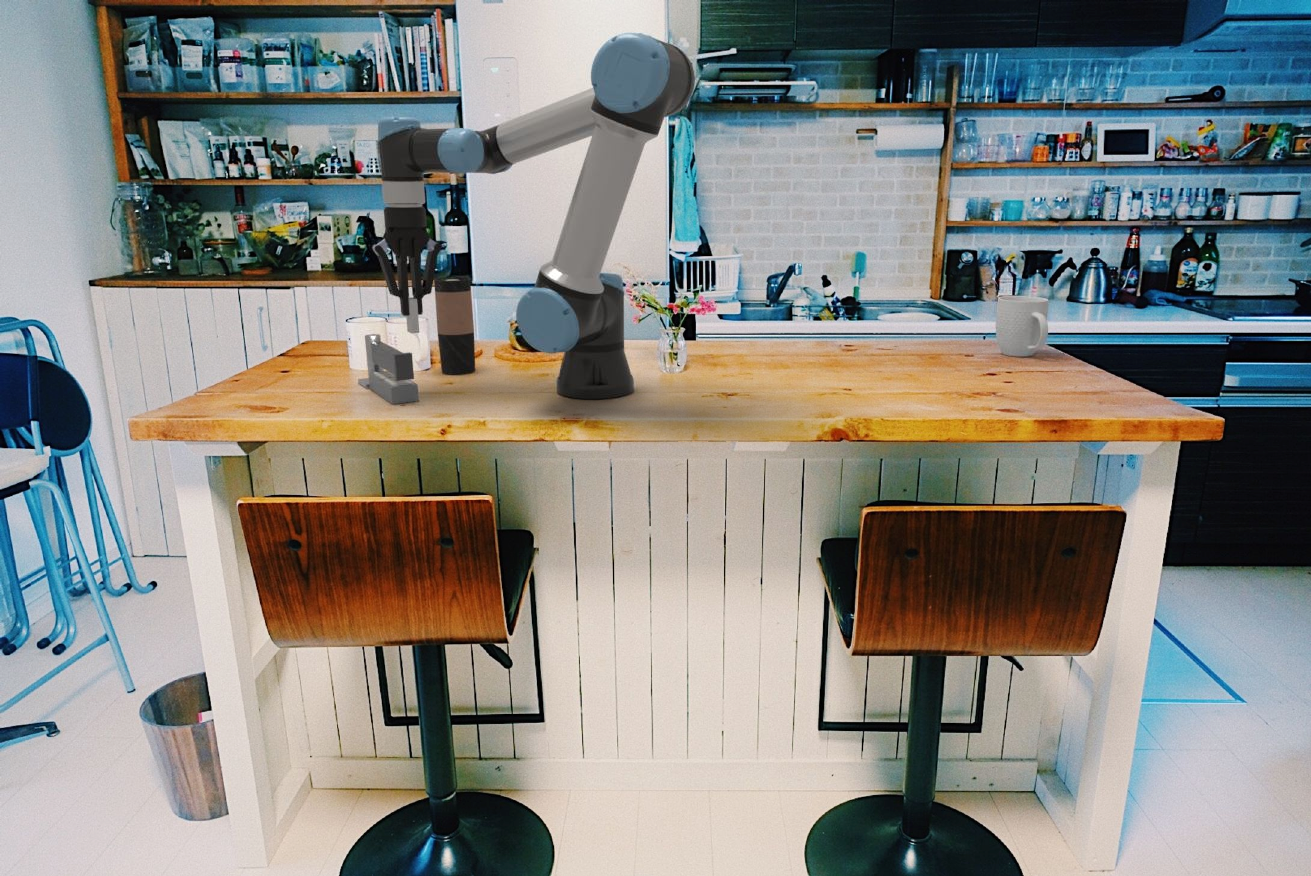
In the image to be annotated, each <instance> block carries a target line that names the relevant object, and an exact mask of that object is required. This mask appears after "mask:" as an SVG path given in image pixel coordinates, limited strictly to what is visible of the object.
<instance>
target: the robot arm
mask: <svg viewBox="0 0 1311 876" xmlns="http://www.w3.org/2000/svg"><path fill="white" fill-rule="evenodd" d="M693 67H694V66H693V64H692V61H691V60H690V58H689V57H688V56H687V54H686V53H685V52H684V51H683V50H682V49H680V48H679V47H678V46H676V45H673V44H672V43H669V42H665V41H663V40H660V39H657V38H655V37H653V36H651V35H650V34H648V35H647V34H644V33H642V32H640V33H636V32H624V33H621V34H617V35H615V36H613V37H611V38H610V39H608V40H607V41H605V43H604V44H603V45H602V46H601V47H600V48H599V49H598V51H597V53H596V54H595V56H594V58H593V61H592V63H591V71H590V82H591V86H592V87H591V88H589V89H586V90H583V91H581V92H579V93H576V94H573V95H570V96H568V97H565V98H563V99H561V100H558V101H555V102H552V103H551V104H548V105H546V106H542V107H540V108H537V109H535V110H532V111H529V112H527V113H525V114H523V115H520V116H518V117H514V118H512V119H509V120H507V121H505V122H502V123H499V124H498V125H495V126H493V127H492V126H491V127H489V128H487V129H484V130H473V129H471V128H463V127H462V128H461V127H450V128H422V127H421V121H420V120H419V119H418V118H416V117H410V116H409V117H408V116H407V117H406V116H384V117H381V118H380V119H378V122H377V137H378V138H377V139H378V140H377V146H378V153H379V163H380V172H381V187H382V189H381V190H382V202H383V204H384V205H386V206H384V208H383V217H384V218H383V219H384V234H383V237H382V238H383V239H382V240H381V241H379V242H377V244H372V245H371V250H372V252H373V253H374V255H376V256H377V259H378V261H379V263H380V267H381V270H382V274H383V277H384V280H385V284H386V286H387V289H388V292H389V294H390V295H391V296H394V297H396V298H399V303H400V304H399V305H400V313H401V316H403V317H404V316H405V317H406V328H407V329H406V331H407V332H408V333H410V334H419V333H420V323H419V321H420V320H419V315H421V316H422V315H423V313H424V312H423V311H424V310H423V298H424V297H425V296H426V295H430V294H431V293H432V290H433V284H434V279H435V278H434V277H435V274H436V273H435V272H436V266H437V260H438V255H439V254H440V252H441V250H442V248H443V245H442V244H441V243H440V242H436V241H434V240H433V239H432V238H431V235H430V233H429V232H428V229H427V225H428V224H427V214H426V213H427V212H426V210H427V209H426V208H425V207H424V206H423V204H425V203H426V194H425V182H424V181H425V180H424V179H425V178H424V175H425V174H424V173H439V174H440V173H443V174H446V173H447V174H457V175H458V174H468V173H469V174H471V173H472V174H473V173H474V174H489V175H495V174H500V173H503V172H504V173H505V172H506V171H508V170H510V168H512V166H513V165H515V164H517V163H520V162H523V161H525V160H528V159H531V158H533V157H537V156H539V155H543V154H546V153H548V152H550V151H553V150H556V149H559V148H561V147H562V148H563V147H565V146H568V145H570V144H572V143H576V142H579V141H581V140H584V139H587V138H590V137H591V138H590V141H589V145H588V147H587V150H586V154H585V157H584V160H583V163H582V167H581V170H580V172H579V176H578V179H577V182H576V185H575V189H574V192H573V194H572V198H571V200H570V204H569V207H568V210H567V213H566V217H565V219H564V223H563V226H562V229H561V231H560V235H559V237H558V241H557V245H556V248H555V250H554V254H553V257H552V259H551V260H550V261H547V262H545V263H543V264H542V265H541V266H540V268H539V271H538V274H537V276H536V277H537V278H536V280H535V284H534V287H533V288H532V289H530V290H528V291H527V292H525V293H524V295H522V297H521V298H520V299H519V301H518V303H517V306H516V311H515V312H516V313H515V317H516V323H517V328H518V330H519V331H520V334H521V335H522V337H523V339H524V340H525V342H526V343H528V345H529V346H531V347H532V348H534V349H535V350H537V351H538V352H542V353H544V354H558V353H564V354H563V357H562V361H561V365H560V368H559V374H558V376H557V378H556V393H557V394H558V395H561V396H563V397H567V398H574V399H584V400H597V399H598V400H599V399H600V400H601V399H602V400H603V399H612V398H618V397H623V396H627V395H630V394H631V393H633V392H634V390H635V387H634V386H635V385H634V384H635V382H634V377H633V374H631V370H630V365H629V363H628V359H627V355H626V353H625V290H624V281H623V278H622V276H621V275H619V274H616V273H610V272H609V273H608V272H602V269H603V267H604V263H605V261H606V259H607V255H608V251H609V249H610V246H611V244H612V241H613V238H614V235H615V233H616V228H617V226H618V224H619V221H620V217H621V214H622V211H623V209H624V207H625V203H626V200H627V196H628V194H629V191H630V188H631V186H632V182H633V180H634V177H635V175H636V172H637V169H638V166H639V164H640V163H639V162H640V160H641V157H642V154H643V151H644V148H645V145H646V143H648V142H649V141H652V140H653V139H656V138H657V137H658V136H659V133H660V130H661V128H662V126H663V122H664V119H665V118H668V117H670V116H674V115H676V114H677V113H679V112H680V111H681V110H682V109H684V108H685V107H686V106H687V104H688V103H689V102H690V99H692V94H693V93H694V89H695V84H696V83H695V82H696V77H695V70H694V68H693ZM388 248H389V249H388ZM425 248H426V250H427V254H426V259H425V263H424V264H425V266H424V270H423V276H422V267H421V263H422V256H421V255H422V254H423V252H424V250H425ZM388 250H390V251H392V253H393V255H394V256H395V261H396V269H397V270H396V272H397V280H396V278H395V275H394V274H395V273H394V271H393V268H392V267H393V266H392V265H391V262H390V258H389V256H388V254H387V253H388ZM408 260H409V265H410V266H409V267H410V279H411V281H410V282H411V294H412V297H410V291H409V290H410V289H409V276H408Z"/></svg>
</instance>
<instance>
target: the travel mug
mask: <svg viewBox="0 0 1311 876" xmlns="http://www.w3.org/2000/svg"><path fill="white" fill-rule="evenodd" d="M433 284H434V296H435V297H434V298H435V312H436V313H435V314H436V315H435V316H436V326H437V327H436V328H437V330H436V331H437V340H438V350H439V351H438V352H439V358H440V369H441V373H442V374H444V375H447V376H460V375H461V376H463V375H468V374H469V375H470V374H473V373H474V372H475V371H476V351H475V349H476V347H475V327H474V324H475V323H474V313H473V310H474V309H473V300H472V287H471V278H470V277H466V276H452V277H451V278H449V279H442V278H441V277H436V278H434V279H433Z"/></svg>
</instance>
